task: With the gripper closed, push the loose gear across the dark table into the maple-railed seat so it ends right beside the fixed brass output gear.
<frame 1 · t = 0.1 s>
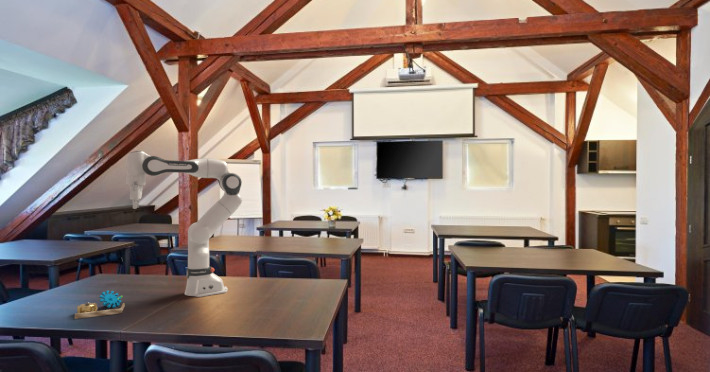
hand: (135, 208, 195), 48 cm above the table, tool pointing down, fingers open, 8 cm apart
gear: (111, 306, 183), on the table
gear bench: (108, 311, 176), on the table
output gear: (87, 313, 173), resting on gear bench
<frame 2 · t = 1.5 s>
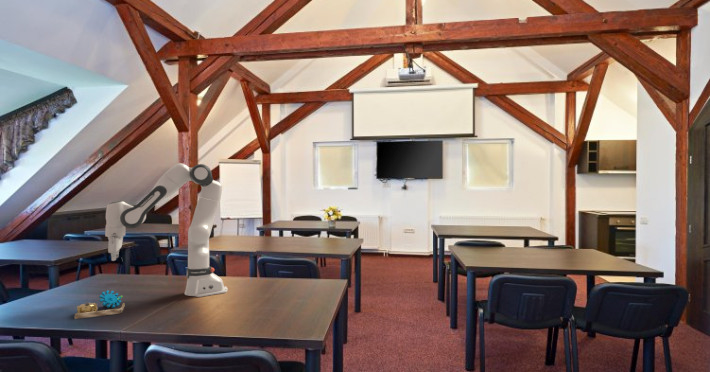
hand: (115, 259, 193), 21 cm above the table, tool pointing down, fingers open, 7 cm apart
nothing on the table moved.
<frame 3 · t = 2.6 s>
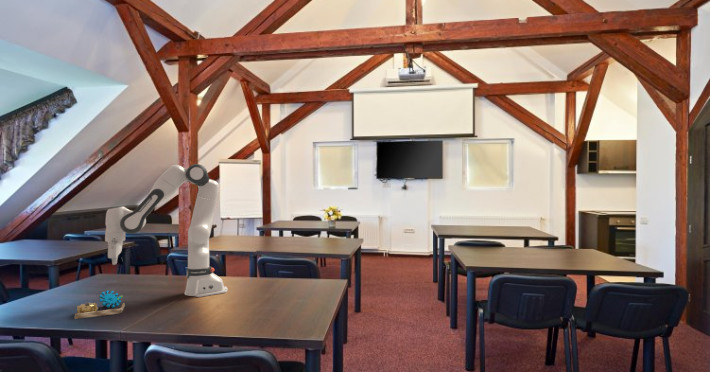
hand: (114, 264, 193), 19 cm above the table, tool pointing down, fingers closed
nothing on the table moved.
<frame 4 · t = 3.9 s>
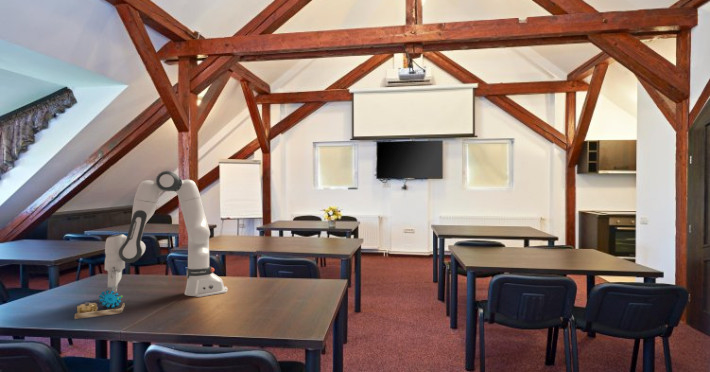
hand: (114, 292, 193), 4 cm above the table, tool pointing down, fingers closed
nothing on the table moved.
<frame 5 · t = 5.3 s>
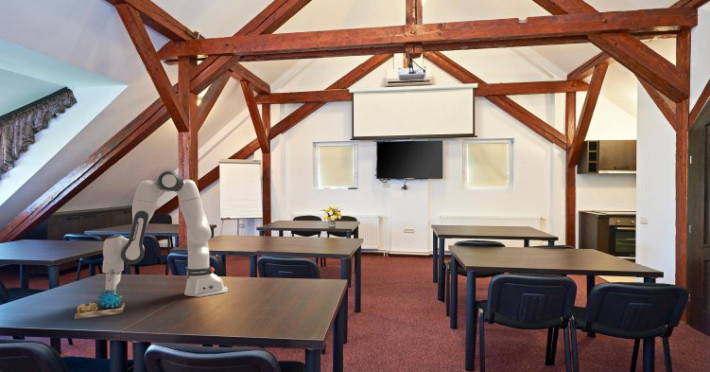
hand: (112, 295, 188), 4 cm above the table, tool pointing down, fingers closed
gear: (110, 307, 183), on the table, touching gripper
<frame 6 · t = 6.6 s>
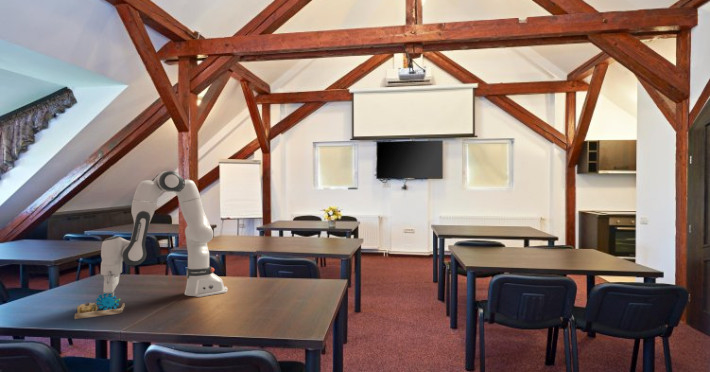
hand: (111, 297, 183), 4 cm above the table, tool pointing down, fingers closed
gear: (108, 310, 178), on the table, touching gripper
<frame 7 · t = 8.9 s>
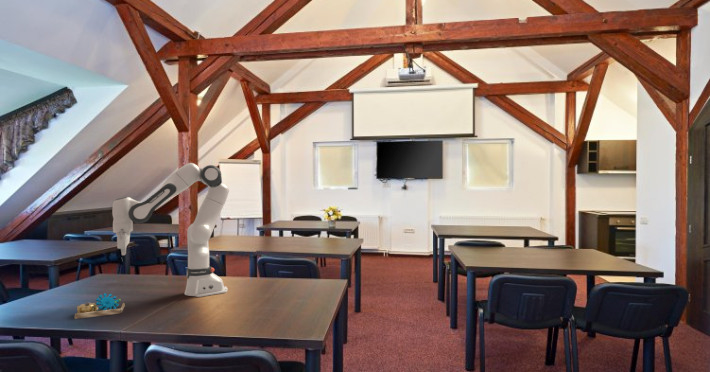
hand: (123, 254, 194), 24 cm above the table, tool pointing down, fingers closed
gear: (108, 310, 178), on the table
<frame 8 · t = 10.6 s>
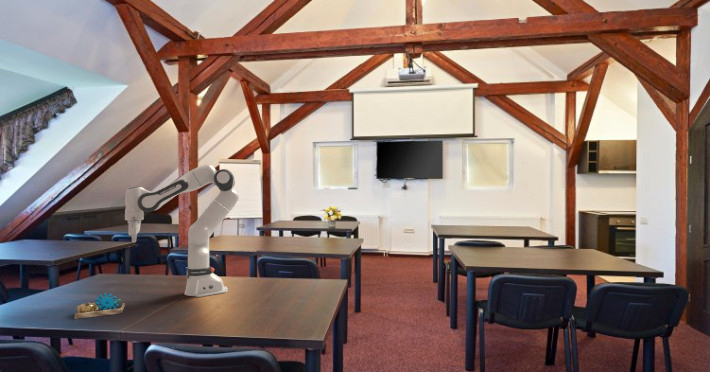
hand: (134, 242, 202), 29 cm above the table, tool pointing down, fingers closed
nothing on the table moved.
at the end: gear 2.0 cm from the target spot, on the table; gear tilted 0°; gear moved 5.7 cm from its start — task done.
